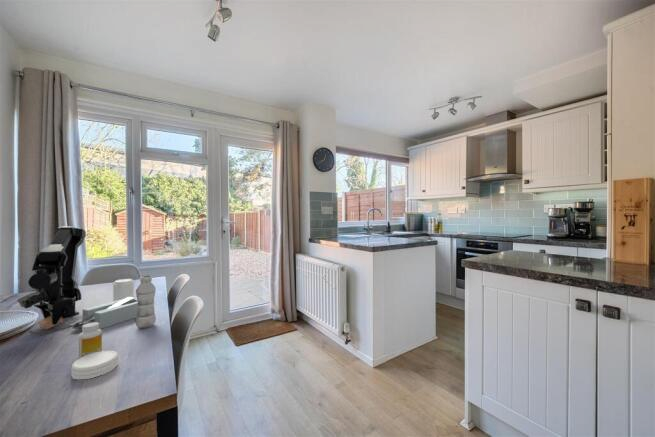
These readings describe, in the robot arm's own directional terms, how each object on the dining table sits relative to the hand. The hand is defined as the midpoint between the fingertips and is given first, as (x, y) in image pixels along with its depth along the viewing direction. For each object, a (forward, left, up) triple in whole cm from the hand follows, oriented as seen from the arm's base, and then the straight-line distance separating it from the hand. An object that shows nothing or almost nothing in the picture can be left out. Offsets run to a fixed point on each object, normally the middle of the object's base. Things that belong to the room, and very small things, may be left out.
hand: (51, 323), depth 103 cm
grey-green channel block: (+11, +17, -2) cm, 20 cm away
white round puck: (+48, -9, -3) cm, 49 cm away
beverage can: (-6, +29, -2) cm, 30 cm away
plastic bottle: (+31, +16, -2) cm, 35 cm away
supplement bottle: (+37, -5, -2) cm, 37 cm away
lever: (+11, +13, +1) cm, 17 cm away
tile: (0, 0, 0) cm, 0 cm away
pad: (0, 0, -2) cm, 2 cm away
